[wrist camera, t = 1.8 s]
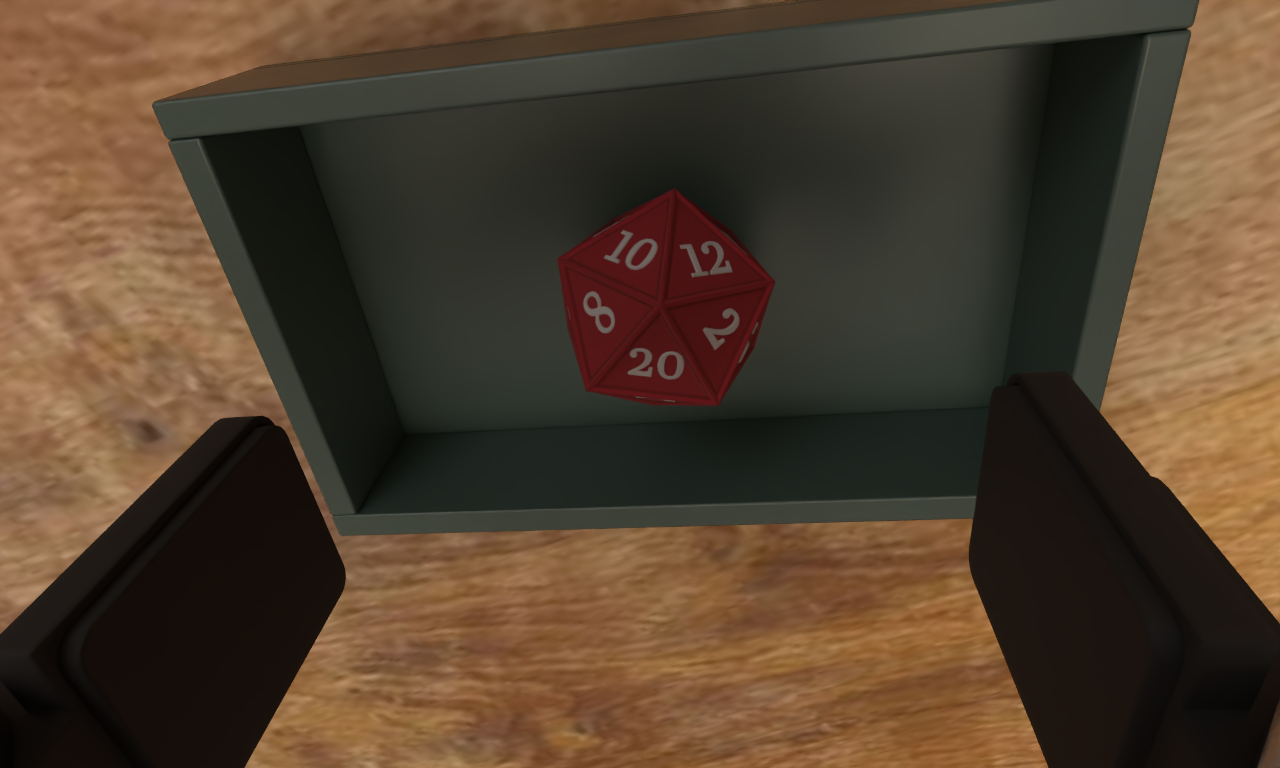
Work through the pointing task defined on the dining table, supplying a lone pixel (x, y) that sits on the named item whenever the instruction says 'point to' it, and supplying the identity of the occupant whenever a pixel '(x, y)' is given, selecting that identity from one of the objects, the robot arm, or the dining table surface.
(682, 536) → the dining table surface
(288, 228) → the tray
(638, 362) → the dice
